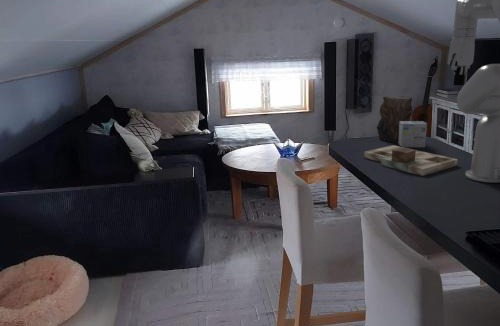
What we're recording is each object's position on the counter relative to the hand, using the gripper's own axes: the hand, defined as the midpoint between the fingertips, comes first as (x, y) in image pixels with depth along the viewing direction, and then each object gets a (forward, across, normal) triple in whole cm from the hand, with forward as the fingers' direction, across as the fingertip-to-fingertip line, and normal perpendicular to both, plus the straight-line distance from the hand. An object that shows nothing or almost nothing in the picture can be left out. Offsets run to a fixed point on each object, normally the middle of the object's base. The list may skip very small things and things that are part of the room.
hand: (458, 85), depth 164 cm
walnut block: (+26, +23, -5) cm, 35 cm away
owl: (+29, -13, -37) cm, 49 cm away
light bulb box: (+29, -8, -24) cm, 39 cm away
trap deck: (+29, +16, -9) cm, 34 cm away
